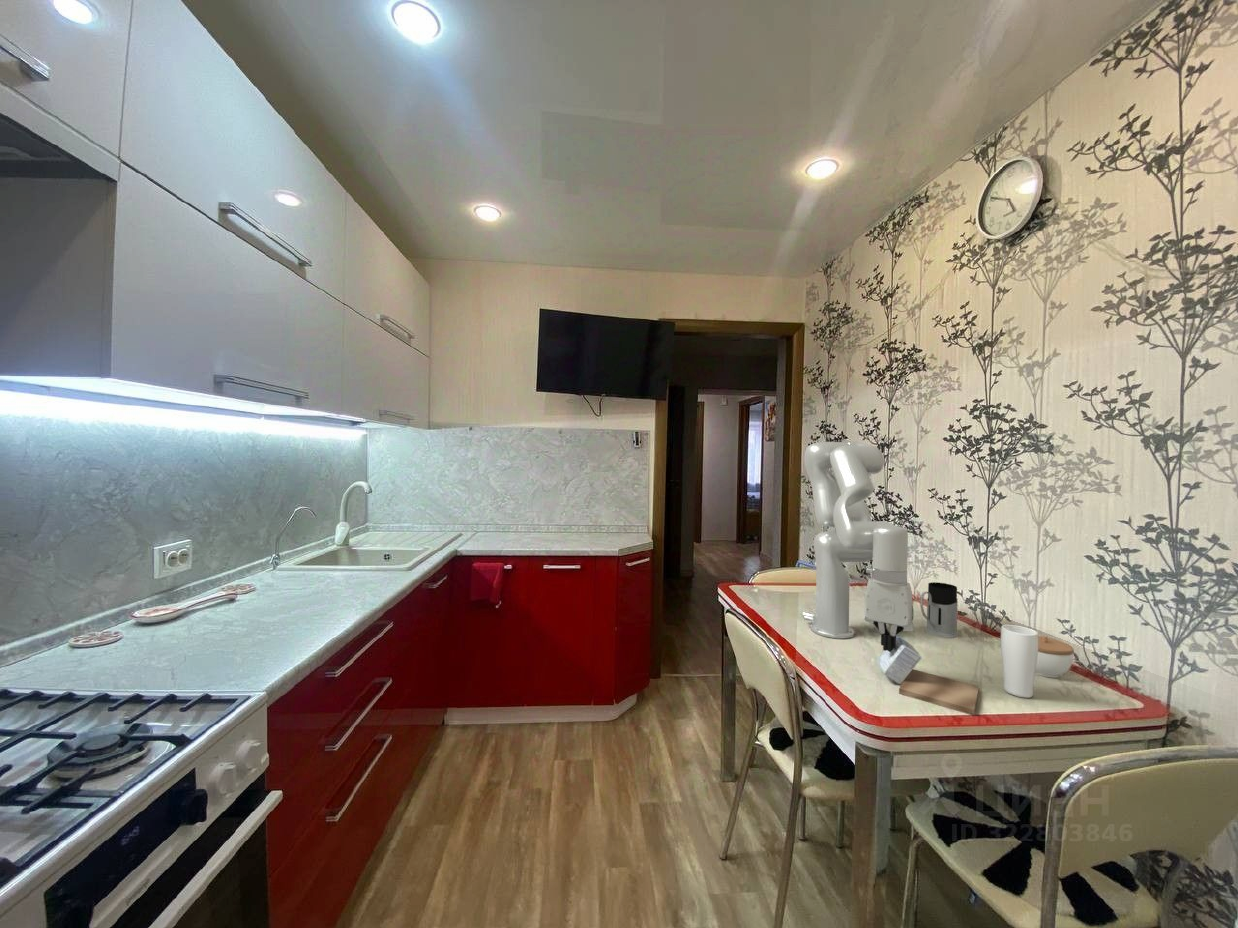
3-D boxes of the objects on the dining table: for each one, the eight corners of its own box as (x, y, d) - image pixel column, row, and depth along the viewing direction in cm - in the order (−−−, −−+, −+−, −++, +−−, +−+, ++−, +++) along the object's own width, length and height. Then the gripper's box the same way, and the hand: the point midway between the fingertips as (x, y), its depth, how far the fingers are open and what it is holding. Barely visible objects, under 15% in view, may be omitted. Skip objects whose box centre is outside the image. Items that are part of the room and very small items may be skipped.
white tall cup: (1028, 688, 113) (1030, 626, 113) (1043, 702, 107) (1044, 636, 107) (994, 684, 116) (995, 622, 115) (1006, 697, 109) (1008, 632, 109)
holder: (965, 635, 147) (966, 587, 147) (934, 642, 142) (935, 592, 142) (936, 626, 155) (937, 580, 155) (906, 632, 150) (907, 584, 150)
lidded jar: (1082, 685, 116) (1083, 646, 116) (1029, 678, 119) (1030, 641, 119) (1058, 666, 126) (1059, 631, 126) (1009, 660, 129) (1010, 626, 129)
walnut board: (899, 693, 111) (899, 688, 111) (910, 673, 121) (910, 668, 121) (974, 715, 101) (974, 709, 101) (978, 691, 112) (979, 686, 112)
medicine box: (900, 685, 114) (922, 658, 113) (882, 673, 115) (905, 646, 114) (892, 671, 122) (913, 645, 120) (875, 660, 123) (896, 634, 122)
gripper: (852, 573, 120) (851, 645, 120) (922, 584, 110) (920, 663, 110) (860, 568, 126) (859, 637, 126) (927, 578, 116) (926, 653, 116)
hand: (888, 649), depth 118 cm, fingers closed
